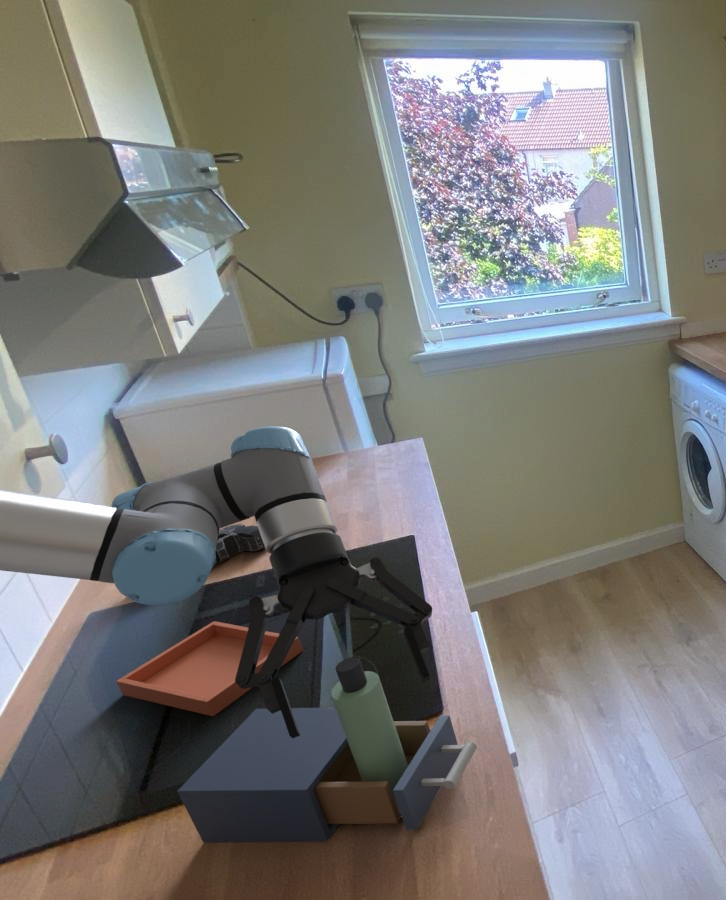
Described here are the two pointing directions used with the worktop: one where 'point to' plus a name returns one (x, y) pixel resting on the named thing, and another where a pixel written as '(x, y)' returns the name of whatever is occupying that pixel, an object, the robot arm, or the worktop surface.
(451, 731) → the drawer
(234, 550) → the sci-fi power cell
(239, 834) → the cabinet
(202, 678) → the tray
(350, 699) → the green bottle
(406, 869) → the worktop surface
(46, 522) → the robot arm
